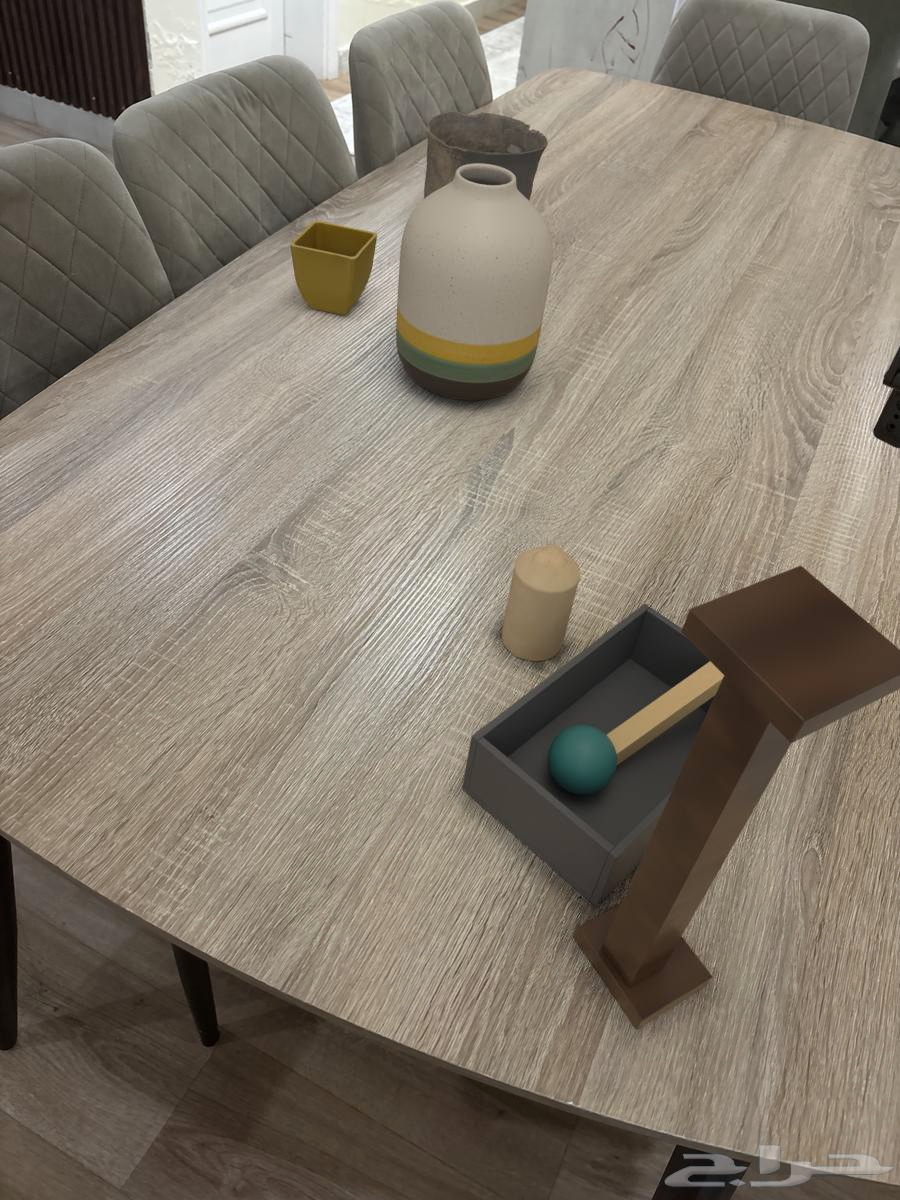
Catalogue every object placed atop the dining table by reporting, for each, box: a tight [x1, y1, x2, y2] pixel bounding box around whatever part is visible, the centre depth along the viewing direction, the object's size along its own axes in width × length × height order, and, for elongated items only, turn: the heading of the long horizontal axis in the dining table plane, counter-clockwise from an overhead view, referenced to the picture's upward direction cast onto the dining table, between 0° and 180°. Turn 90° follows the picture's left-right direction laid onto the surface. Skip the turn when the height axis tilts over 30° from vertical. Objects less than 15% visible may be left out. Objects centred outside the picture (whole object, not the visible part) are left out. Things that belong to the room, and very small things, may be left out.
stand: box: [573, 565, 900, 1030], centre depth 52 cm, size 7×7×32 cm
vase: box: [395, 163, 554, 401], centre depth 107 cm, size 17×17×24 cm
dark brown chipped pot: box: [423, 111, 549, 202], centre depth 140 cm, size 18×18×15 cm
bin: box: [461, 603, 715, 908], centre depth 72 cm, size 13×21×7 cm, turn 135°
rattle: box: [548, 662, 724, 795], centre depth 71 cm, size 5×17×5 cm, turn 120°
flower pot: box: [289, 220, 378, 316], centre depth 122 cm, size 9×9×9 cm
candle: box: [501, 544, 581, 662], centre depth 80 cm, size 6×6×10 cm
